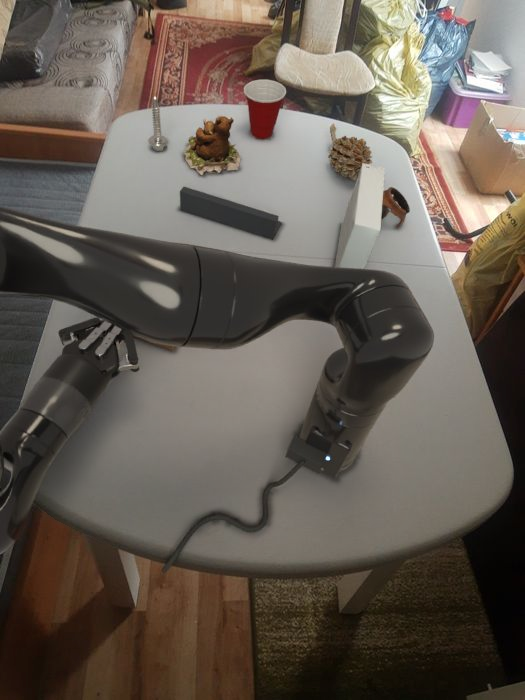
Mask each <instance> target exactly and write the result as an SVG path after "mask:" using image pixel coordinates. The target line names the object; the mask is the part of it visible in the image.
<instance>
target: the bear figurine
mask: <svg viewBox="0 0 525 700" xmlns="http://www.w3.org/2000/svg"><path fill="white" fill-rule="evenodd" d="M202 121H203V127H201V126H200V127H198V128H197V129H196V131H195V136H190V137H189V138H188V146H186V149H185V150H184V151H183V156H184V157H185V158H184V160H185V161H186V163H187V165H188V166H189V167H190V169H196V171H197V173H198V174H199V175H201V176H204V172H207V173H208V174H216V173H217V174H220V173H221V172H222V170H226V171H239V168H240V164H241V160H242V157H241V156H240V153H239V151H238V149H237V148H236V147H235V146H236V145H237V144H235V143H234V144H233V143H232V142H231V141H229V139H230V137H231V132H230V131H231V129H232V125H233V123H234V121H235V120H234V118H233V117H232V116H231V117H230V118H228V117H226V116H225V115H221V114H220V115H218V116H216V117H215V122H214V121H212V120H208V121H207V119H206V118H203V120H202ZM213 171H215V172H213Z"/></svg>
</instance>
